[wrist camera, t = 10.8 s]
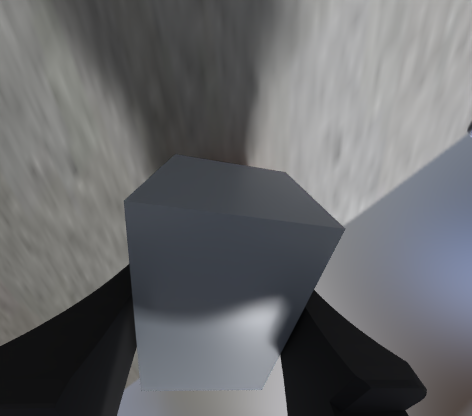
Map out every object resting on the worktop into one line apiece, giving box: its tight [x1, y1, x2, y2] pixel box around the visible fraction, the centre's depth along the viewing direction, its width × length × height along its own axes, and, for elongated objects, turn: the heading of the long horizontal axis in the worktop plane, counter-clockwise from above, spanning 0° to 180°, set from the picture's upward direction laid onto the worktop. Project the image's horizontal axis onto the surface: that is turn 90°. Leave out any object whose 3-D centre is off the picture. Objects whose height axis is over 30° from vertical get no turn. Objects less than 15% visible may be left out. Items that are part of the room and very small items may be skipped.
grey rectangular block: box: [124, 154, 345, 391], centre depth 10 cm, size 6×11×6 cm, turn 170°
